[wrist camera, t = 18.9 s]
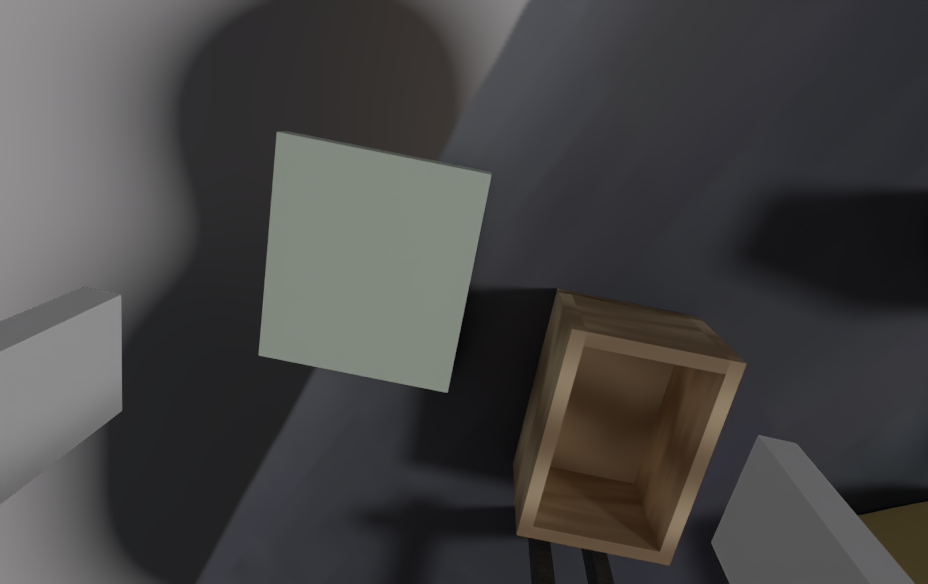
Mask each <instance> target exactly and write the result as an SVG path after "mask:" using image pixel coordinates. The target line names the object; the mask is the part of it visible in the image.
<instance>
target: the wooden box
mask: <svg viewBox="0 0 928 584" xmlns="http://www.w3.org/2000/svg"><path fill="white" fill-rule="evenodd" d="M746 364H747V363H745V362H744V361H743V360H742V359H741V358H740V357H739V356H738V355H737V354H736V353H735V352H734V351H733V350H732V349H731V348H730V347H729V346H728V345H727V344H726V343H725V342H724V341H723V340H722V339H721V338H720V337H719V336H718V335H717V334H716V333H715V332H714V331H712V330H711V329H710V328H709V327H708V326H707V325H706V324H705V323H704V322H703V321H702V320H701V319H700V318H699V317H697V316H692V315H687V314H682V313H677V312H672V311H667V310H662V309H657V308H652V307H647V306H642V305H637V304H632V303H627V302H622V301H617V300H612V299H607V298H602V297H597V296H592V295H587V294H582V293H577V292H572V291H567V290H562V289H557V292H556V296H555V300H554V304H553V308H552V312H551V316H550V320H549V324H548V328H547V332H546V335H545V339H544V343H543V347H542V351H541V355H540V359H539V363H538V367H537V371H536V375H535V379H534V383H533V386H532V390H531V394H530V398H529V402H528V406H527V410H526V414H525V418H524V422H523V426H522V430H521V434H520V437H519V441H518V445H517V449H516V453H515V457H514V461H513V474H514V496H515V517H516V535H519V536H524V537H529V538H534V539H539V540H544V541H549V542H554V543H559V544H564V545H569V546H574V547H579V548H584V549H589V550H594V551H599V552H604V553H609V554H614V555H619V556H624V557H629V558H634V559H639V560H644V561H649V562H654V563H659V564H664V565H670V563H671V560H672V557H673V555H674V552H675V550H676V547H677V544H678V542H679V539H680V536H681V534H682V531H683V529H684V526H685V523H686V521H687V518H688V516H689V513H690V510H691V508H692V505H693V502H694V500H695V497H696V495H697V492H698V489H699V487H700V484H701V482H702V479H703V476H704V474H705V471H706V469H707V466H708V463H709V461H710V458H711V455H712V453H713V450H714V448H715V445H716V442H717V440H718V437H719V435H720V432H721V429H722V427H723V424H724V421H725V419H726V416H727V414H728V411H729V408H730V406H731V403H732V401H733V398H734V395H735V393H736V390H737V388H738V385H739V382H740V380H741V377H742V374H743V372H744V369H745V367H746Z"/></svg>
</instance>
